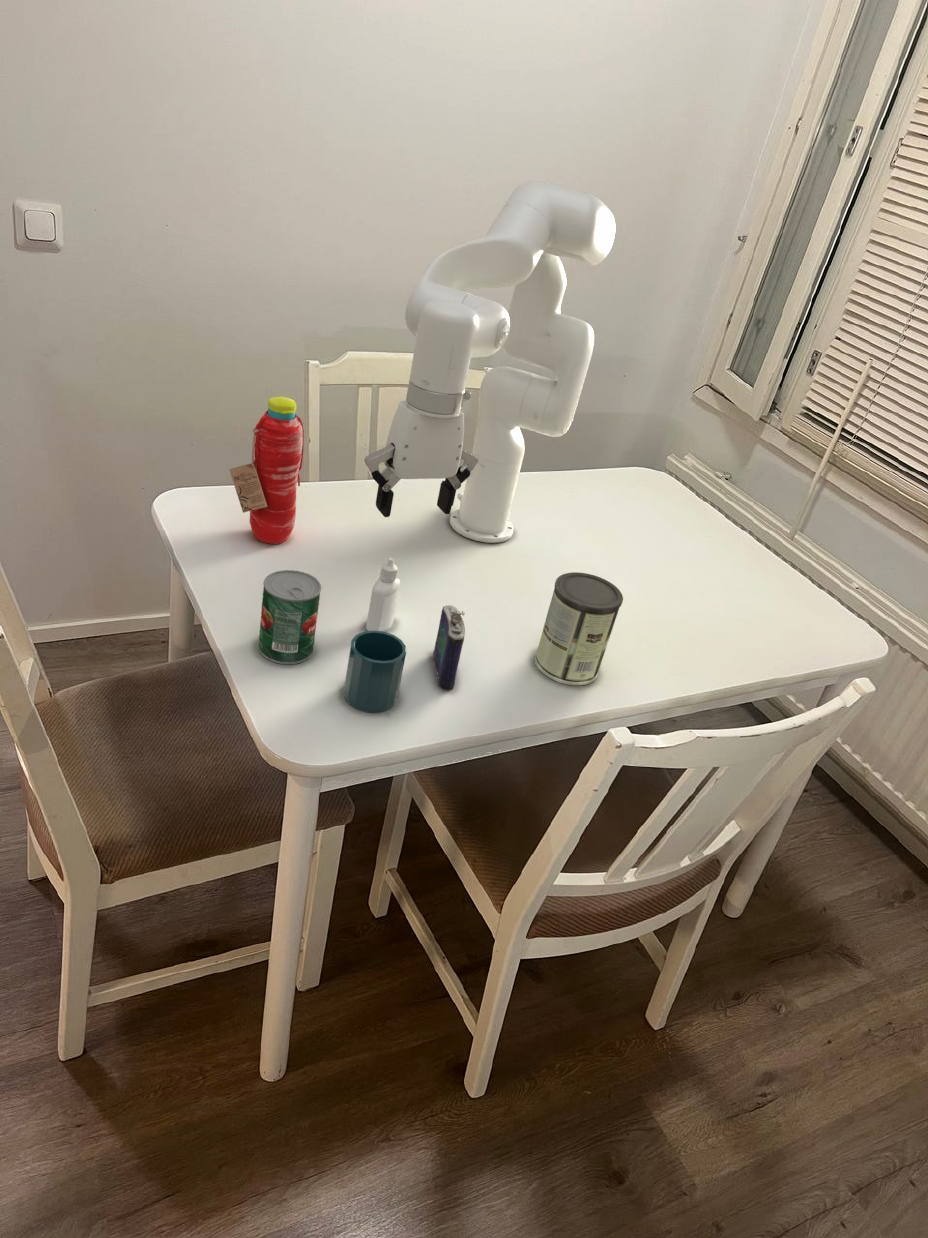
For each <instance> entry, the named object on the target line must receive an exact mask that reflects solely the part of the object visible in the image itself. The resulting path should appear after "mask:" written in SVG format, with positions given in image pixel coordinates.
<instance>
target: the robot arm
mask: <svg viewBox="0 0 928 1238" xmlns="http://www.w3.org/2000/svg"><path fill="white" fill-rule="evenodd" d="M615 234H616V221H615V217H614V214H613V211H611V210H610V209H609V207H608V206H607V205H606V204H605V203H604V201H602V200H601V199H600V198H598V197H597V196H595V195H593V194H591V193H588V192H585V191H582V190H578V189H573V188H570V187H566V186H563V185H560V184H555V183H551V182H547V181H543V180H528V181H525V182H523V183H520V184H519V185H518V186H516V188H514V190H513V191H512V193H511V194H510V196H509V197H508V199H507V201H506V202H505V204H504V205H503V206H502V207H501V210H500V212H499V213H498V214H497V216H496V217H495V219H494V221H493V222H492V223H491V225H490V227H489V228H488V230H487V232H486V233H485V234H484V236H482V237H479V238H475V239H473V240H469V241H467V242H464V243H462V244H459V245H457V246H455V247H452V248H450V249H447V250H446V251H444V252H442V253H440V254H439V255H438V256H436V257H435V258H434V259H433V260H432V261H431V262H430V263H429V264H428V265H427V267H426V269H425V270H424V272H423V273H422V274H421V276H420V277H419V278H418V281H417V282H416V284H415V285H414V287H413V288H412V291H411V293H410V295H409V297H408V300H407V303H406V307H405V313H404V319H405V324H406V327H407V329H408V330H409V332H410V333H411V334H412V335H413V336H414V337H416V338H415V343H414V349H413V356H412V361H411V366H410V373H409V378H408V379H409V380H408V386H407V392H406V398H405V400H401V401H399V404H398V405H397V408H396V410H395V413H394V416H393V418H392V421H391V425H390V428H389V431H388V432H389V433H388V435H387V439H386V444H385V446H384V447H382V448H381V449H378V450H376V451H375V452H373V453H371V454H368V455H367V456H365V457H364V464H365V466H366V469H367V471H368V474H369V475H370V477H371V478H372V479H373V480H374V481H375V483H376V484H377V485H378V486H377V492H376V498H375V506H376V508H377V510H378V511H379V512H380V513H381V515H382V516H383V517H384V518H389V517H390V516H391V513H392V508H393V502H394V495H395V493H394V491H393V490H392V489H393V488H394V487H395V486H396V485H397V484H398V482H400V481H401V480H435V479H437V480H438V479H439V480H440V479H444V480H442V481H441V483H440V486H439V491H438V496H437V501H436V506H437V507H438V508H439V509H440V510H441V511H442V512H443V514H445V515H450V517H449V524H450V526H451V528H452V529H453V530H454V531H455V532H456V533H457V534H459V535H460V536H462V537H465V538H467V539H470V540H473V541H476V542H481V543H487V544H491V543H492V544H493V543H494V544H496V543H497V544H498V543H503V542H506V541H508V540H510V539H511V538H512V537H513V534H514V529H515V527H514V525H513V523H512V522H511V521H510V520H509V518H510V513H511V509H512V506H513V502H514V497H515V494H516V489H517V485H518V480H519V477H520V472H521V468H522V465H523V461H524V455H525V451H526V450H525V448H526V447H525V440H524V436H523V433H522V430H521V428H522V429H525V430H528V431H531V432H533V433H537V434H540V435H543V436H547V437H550V438H551V437H552V438H560V437H563V436H564V435H565V434H566V433H568V431H569V429H570V427H571V426H572V423H573V421H574V417H575V415H576V411H577V408H578V404H579V401H580V397H581V394H582V391H583V387H584V383H585V380H586V377H587V373H588V370H589V366H590V363H591V360H592V355H593V351H594V347H595V346H594V345H595V333H594V330H593V327H592V326H591V324H589V323H588V322H587V321H584V320H582V319H580V318H577V317H574V316H571V315H567V314H562V313H561V306H562V302H563V299H564V295H565V291H566V288H567V275H566V272H565V269H564V265H563V262H562V261H561V258H562V259H565V260H570V261H573V262H577V263H579V264H583V265H589V266H597V265H599V264H601V263H602V262H604V260H605V259H606V258H607V256H608V255H609V253H610V251H611V249H612V246H613V244H614V240H615ZM513 286H514V289H513V293H512V297H511V299H510V300H511V301H510V304H509V309H508V311H507V308H505V307H504V306H503V305H502V304H501V303H499V302H498V301H495V300H492V299H490V298H487V297H483V296H480V295H476V294H472V293H471V292H467V291H468V290H479V289H480V290H482V289H484V290H485V289H499V288H506V287H507V288H508V287H513ZM501 348H502V350H503V353H504V354H505V355H506V356H507V357H509V358H511V359H513V360H515V361H518V362H521V363H524V364H527V365H531V366H534V367H538V368H539V369H540V368H541V369H544V370H547V371H550V372H553V373H554V374H555V376H556V379H552V378H549V377H545V376H542V375H538V374H537V373H533V372H530V371H528V370H527V371H526V370H523V369H519V368H516V367H512V366H507V365H500V366H499V365H498V366H494V367H492V368H490V369H489V370H488V371H487V372H485V374H484V375H483V378H482V380H481V382H480V386H479V393H478V394H479V395H478V398H479V399H478V417H477V423H476V431H475V436H474V441H473V447H472V452H469V451H468V450H467V449H465V448H463V445H464V436H465V412H464V410H463V405H464V402H465V401H470V400H471V397H472V392H471V390H469V389H466V386H467V379H468V375H469V370H470V364H471V359H479V358H486V357H487V358H488V357H490V356H493V355H494V354H496V353H497V352H498V351H500V350H501ZM461 460H463V462H462V465H460V464H461ZM382 463H383V465H384V466H385V468H384V469H383V470H382V471H380V467H379V466H380V465H381V464H382ZM464 482H465V484H464V490H463V493H462V492H459V493H458V494H457V490H459V489H461V487H462V484H463V483H464ZM455 498H456V499H458V501H459V502H460V503H459V508H458V509H456V510H454V511H453V512H452V507H453V506H454V503H455ZM451 512H452V513H451Z"/></svg>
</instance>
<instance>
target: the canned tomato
mask: <svg viewBox="0 0 928 1238" xmlns="http://www.w3.org/2000/svg"><path fill="white" fill-rule="evenodd" d="M262 585H263V589H262V599H261V600H262V601H261V612H260V623H259V624H260V625H259V636H258V645H257V647H258V651H259V654H260V655H261V656H262V657H263V658H265V659H266V660H268V661H270V662H273V663H276V664H280V665H298V664H300V663H303V662H306V661H308V660H309V659H310V658H311V657H312V656H313V653H314V645H315V640H316V630H317V623H318V614H319V607H320V599H321V592H322V584H321V583H320V581H319V580H318V579H317V578H316V577H315V576H313V575H311V574H309V573H307V572H304V571H300V570H295V569H294V570H293V569H284V570H282V569H281V570H277V571H274V572H271V573H270V574H268V575H267V576H266V577H265V578H264V580H263V584H262Z"/></svg>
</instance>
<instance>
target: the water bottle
mask: <svg viewBox="0 0 928 1238" xmlns="http://www.w3.org/2000/svg"><path fill="white" fill-rule="evenodd" d="M296 411H297V403H296V402H295V400H293V399H291V398H289V397H285V396H272V397H270V398H269V399H268V401H267V410H266V411H265V412H264V414H263V415H262V416H261V417H260V418H259V420H258V423H257V424H256V425H255V427H254V428H252V433H253V435H252V448H251V449H252V450H251V451H252V452H251V463H247V464H244V465H240V466H236V467H232V468H229V469H228V471H229V473H230V476H231V479H232V484H233V486H234V489H235V491H236V492H235V493H236V496H237V499H238V501H239V505H240V507H241V511H242V513H243V514H244V513H248V512H249V525H250V528H251V531H252V534H253V536H254V538H255V539H257V540H258V541H259V542H261V543H265V544H269V545H277V544H279V545H280V544H282V543H285V542H286V541H287V540H288V539H289V538H290V536H291V534H292V532H293V530H294V529H295V523H296V516H297V487H300V486H301V477H300V471H301V470H302V469H303V468H302V467H303V459H304V451H305V450H304V448H305V445H304V443H305V441H304V440H305V430H304V425H303V421H302V420H301V419H302V418H300V417H299V416H298V415H297V414H296Z"/></svg>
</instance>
